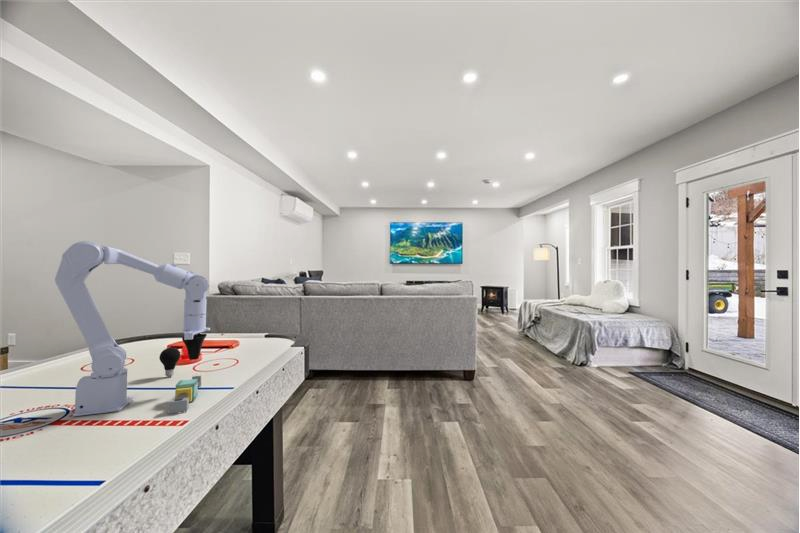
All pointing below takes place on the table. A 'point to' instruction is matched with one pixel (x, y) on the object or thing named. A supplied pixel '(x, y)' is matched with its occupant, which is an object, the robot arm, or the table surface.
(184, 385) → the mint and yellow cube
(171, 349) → the light bulb
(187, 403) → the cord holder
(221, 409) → the table surface
